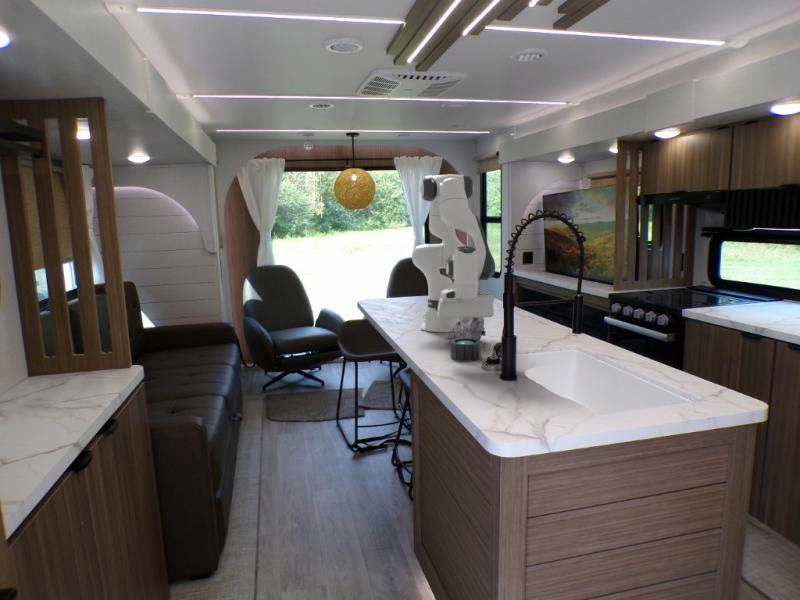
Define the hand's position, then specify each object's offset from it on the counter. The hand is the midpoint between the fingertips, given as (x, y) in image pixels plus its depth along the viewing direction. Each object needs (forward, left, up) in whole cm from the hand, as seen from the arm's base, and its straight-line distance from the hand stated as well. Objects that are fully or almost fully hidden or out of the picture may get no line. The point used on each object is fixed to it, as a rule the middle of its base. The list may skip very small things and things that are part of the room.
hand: (465, 329), depth 196 cm
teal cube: (+1, 0, -10) cm, 10 cm away
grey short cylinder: (+1, 0, -10) cm, 10 cm away
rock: (-23, +4, -11) cm, 25 cm away
